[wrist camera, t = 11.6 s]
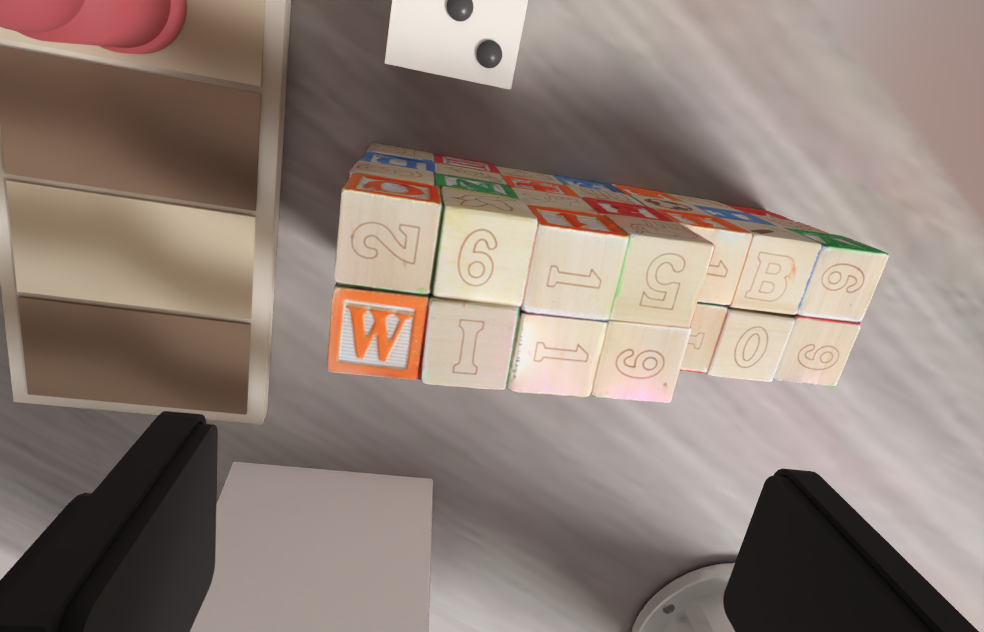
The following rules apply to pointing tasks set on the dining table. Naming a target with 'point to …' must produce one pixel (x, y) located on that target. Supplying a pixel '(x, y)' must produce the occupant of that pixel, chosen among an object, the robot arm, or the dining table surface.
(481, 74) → the die
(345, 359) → the stack of blocks
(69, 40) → the pawn
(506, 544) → the dining table surface
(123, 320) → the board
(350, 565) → the milk
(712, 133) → the dining table surface
